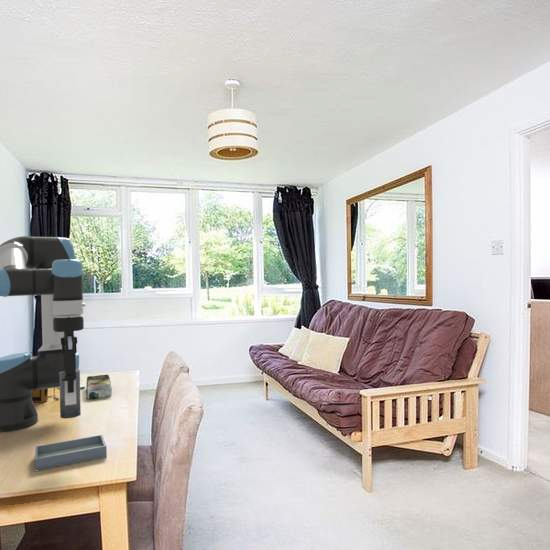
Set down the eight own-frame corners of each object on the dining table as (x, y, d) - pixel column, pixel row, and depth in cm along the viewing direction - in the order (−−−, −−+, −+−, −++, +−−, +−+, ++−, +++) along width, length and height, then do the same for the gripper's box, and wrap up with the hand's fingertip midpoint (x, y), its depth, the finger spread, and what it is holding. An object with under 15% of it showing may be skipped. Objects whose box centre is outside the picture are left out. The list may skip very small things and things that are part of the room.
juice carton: (113, 397, 180) (112, 382, 180) (87, 400, 176) (86, 385, 176) (109, 387, 198) (109, 373, 198) (86, 390, 194) (85, 376, 194)
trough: (35, 457, 119) (35, 446, 119) (102, 444, 127) (102, 434, 127) (35, 471, 110) (34, 459, 110) (106, 457, 118) (106, 445, 118)
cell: (60, 414, 120) (59, 367, 120) (80, 411, 122) (79, 365, 122) (60, 419, 115) (59, 370, 115) (81, 416, 117) (80, 368, 118)
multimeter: (67, 396, 182) (66, 348, 183) (52, 403, 173) (51, 352, 173) (34, 396, 184) (33, 348, 184) (17, 402, 174) (16, 352, 174)
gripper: (86, 317, 113) (88, 407, 112) (80, 313, 129) (82, 393, 128) (53, 319, 109) (55, 412, 109) (52, 315, 125) (54, 396, 125)
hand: (70, 401), depth 119 cm, fingers closed on cell, 5 cm apart
